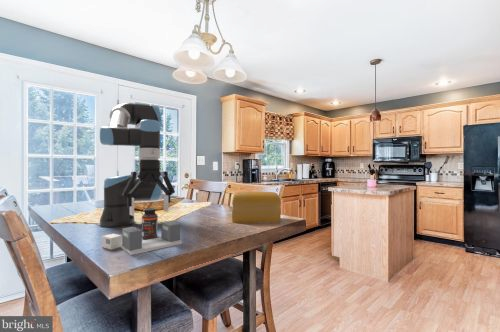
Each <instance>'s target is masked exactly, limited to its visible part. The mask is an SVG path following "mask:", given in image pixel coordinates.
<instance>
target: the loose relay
mask: <svg viewBox="0 0 500 332" xmlns="http://www.w3.org/2000/svg"><path fill="white" fill-rule="evenodd" d="M101 241H102V242H101V243H102V245H101V246H102V248H103V249H106V250H107V249H108V250H110V251H112V250H116V249H118V248H121V245H122V234H117V233H109V234H106V235H102V237H101Z"/></svg>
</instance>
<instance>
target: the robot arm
mask: <svg viewBox="0 0 500 332" xmlns="http://www.w3.org/2000/svg"><path fill="white" fill-rule="evenodd" d="M109 119H110V120H109V123H108V125H107V126H100V128H99V140H100V144H101V145H106V146H111V147H112V146H120V147H121V146H126V147H128V146H129V147H138V171H131V173H130V174H125V175H117V176H115V175H114V176H109V177H106V178H105V179H104V182H103V183H104V184H103V210H102V213H101V215H100V219H99V226H101V227H109V228H111V227H112V228H117V227H123V226H128V225H132V224H134V223H135V202H141V201H142V202H143V201H150V202H151V201H157V200H159V199H160V198H161V196H162V192H163V193H164V194H163V211H164V212H169V204H170V203H171V196H172V194H175V192H176V191H175V188H174V186H173V185H172V182H171V181H170V178H169V174H168V171H166V170H165V171H164V170H163V171H160V170H161V165H160V164H161V161H160V160H159V159H160V158H161V126H162V114H161V110H160V107H159V106H158V105H154V104H146V103H134V102H125V103H121V104H117V105H116V106H114V107H113V108H112V109H111V110H110V114H109ZM128 125H133V126H135V127H128ZM163 181H164V182H163ZM164 183H165V184H164Z"/></svg>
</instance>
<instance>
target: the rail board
mask: <svg viewBox="0 0 500 332" xmlns="http://www.w3.org/2000/svg"><path fill="white" fill-rule="evenodd" d="M121 230H122V231H121V232H122V234H121V235H122V245H121V247H120V248H121V250H123V251H125V252H126V253H127V254H129V255H130V256H133V255H137V254H142V253H146V252H151V251H155V250H160V249H163V248H168V247H174V246H179V245H183V240H181V223H179V222H175V221H173V220H169V221H162V222H161V232H160V233H161V234H160V235H161V236H159V237H156V238H153V239H143V238H142V229H140V228H138V227H136V226H129V227H123V228H122V229H121Z"/></svg>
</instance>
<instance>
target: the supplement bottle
mask: <svg viewBox="0 0 500 332" xmlns="http://www.w3.org/2000/svg"><path fill="white" fill-rule="evenodd" d="M158 218H159V217H158V214H157V213H156V208H153V207H151V208H150V207H149V208H144V213H143V214H142V215H141V230H142V240H148V239H153V238H158V225H159V223H158Z"/></svg>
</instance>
